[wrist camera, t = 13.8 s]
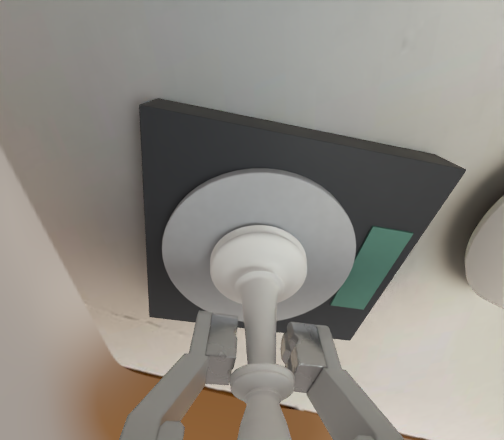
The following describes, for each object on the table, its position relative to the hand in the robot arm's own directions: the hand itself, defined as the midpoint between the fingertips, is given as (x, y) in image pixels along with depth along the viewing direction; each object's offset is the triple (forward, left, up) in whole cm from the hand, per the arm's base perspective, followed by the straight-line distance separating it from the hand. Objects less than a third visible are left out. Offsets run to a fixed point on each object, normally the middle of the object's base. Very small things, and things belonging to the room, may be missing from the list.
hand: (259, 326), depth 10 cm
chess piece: (0, 0, -4) cm, 4 cm away
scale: (+1, 0, -7) cm, 7 cm away
